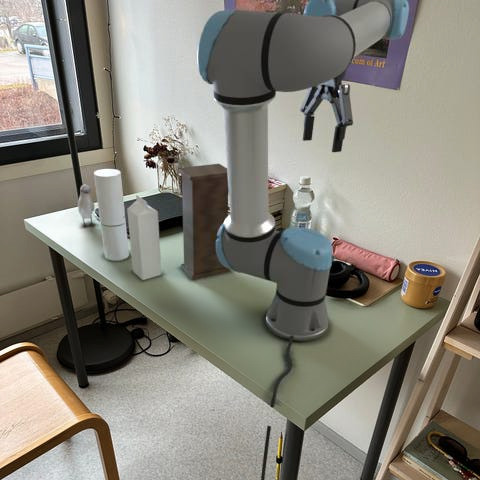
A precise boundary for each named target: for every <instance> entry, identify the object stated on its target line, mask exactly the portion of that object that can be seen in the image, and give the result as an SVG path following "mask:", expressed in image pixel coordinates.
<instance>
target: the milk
mask: <svg viewBox="0 0 480 480" xmlns="http://www.w3.org/2000/svg"><path fill="white" fill-rule="evenodd" d="M135 197H136V198H135V199H136V200H135V201H134V202H133V203H132V204H130V206H128V208H127V209H126V212H127V221H128V222H127V223H128V231H129V241H130V242H129V243H130V253H131V262H132V272H133V273H134V274H135V275H137V277H139V279H141V280H142V281H145V280H149V279H152V278H155V277H158V276H162V258H161V257H162V256H161V244H160V243H161V242H160V225H159V211H157V210H156V209H155V208H153V207H151V206H150V205H149V204H148V201H146V200H145V199H144V198H142V197H140V195H135Z"/></svg>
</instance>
